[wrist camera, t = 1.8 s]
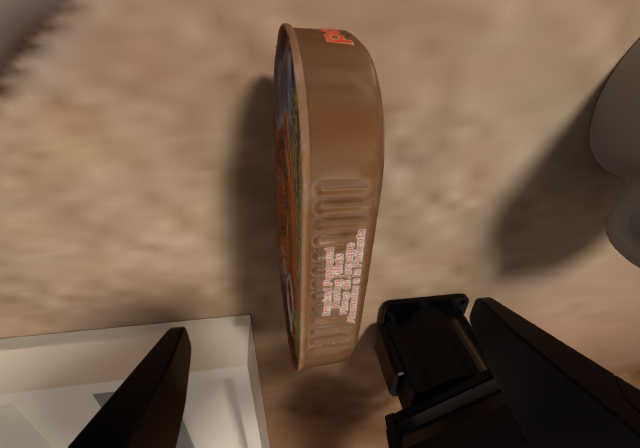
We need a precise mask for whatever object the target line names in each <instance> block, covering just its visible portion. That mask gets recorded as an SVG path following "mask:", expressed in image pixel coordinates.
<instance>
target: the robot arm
mask: <svg viewBox="0 0 640 448" xmlns="http://www.w3.org/2000/svg"><path fill="white" fill-rule="evenodd" d="M468 303H469V299H468V298H467V296H466V295H465V294H454V295H443V296H433V297H423V298H412V299H402V300H392V301H388V302H386V303H385V305H384V309H383V315H382V321H381V325H379V327H378V330H377V336H376V342H375V350H376V355H377V358H378V360H379V363H380V366H381V369H382V372H383V375H384V378H385V381H386V384H387V387H388V390H389V393H390V394H391V395H392V396H393V397H396V396H398V397H399V400H400V403H401V406H402V409H403V410H401V411H398V412H396V413H391V414H388V415H386V416H385V420H386V426H387V430H386V433H387V439H388V446H389V448H640V390H639V389H637V388H636V387H634V386H632V385H631V384H629V383H627V382H626V381H624V380H623V379H621V378H619V377H618V376H614V374H613V373H611V372H610V371H608V370H606V369H605V368H603V367H602V366H600V365H598V364H597V363H595V362H594V361H592V360H590V359H589V358H587V357H585V356H584V355H582V354H581V353H579V352H577V351H576V350H574V349H573V348H571V347H569V346H568V345H566V344H565V343H563V342H561V341H560V340H558V339H557V338H555V337H553V336H552V335H550V334H549V333H547V332H545V331H544V330H542V329H540V328H539V327H537V326H536V325H534V324H532V323H531V322H529V321H528V320H526V319H524V318H523V317H521V316H520V315H518V314H516V313H515V312H513V311H512V310H510V309H508V308H507V307H505V306H504V305H502V304H500V303H499V302H497V301H495V300H494V299H492V298H490V297H484V298H477V299H476V300H475V303H474V305H473V308H472V311H471V313H470V323H471V325H470V323H469V322H468V320H467V319H466V317H465V316H464V313H465V311H466V308H467V305H468ZM191 350H192V349H191V342H190V339H189V336H188V333H187V330H186V328H185V327H183V326H182V327H172V328H170V329H168V330H167V332H166V333H165V334H164V335H163V336H162V337H161V339H160V340H159V341H158V342H157V343H156V344H155V346H154V347H153V348H152V349H151V350H150V351H149V353H148V354H147V355H146V356H145V357H144V358H143V360H142V361H141V362H140V363H139V364H138V365H137V367H136V368H135V369H134V370H133V371H132V372H131V374H130V375H129V376H128V377H127V378H126V379H125V381H124V382H123V383H122V384H121V385H120V386H119V388H118V389H117V390H116V391H115V392H114V393H113V395H112V396H111V397H110V398H109V399H108V400H107V402H106V403H105V404H104V405H103V406H102V407H101V409H100V410H99V411H98V412H97V413H96V414H95V416H94V417H93V418H92V419H91V420H90V421H89V423H88V424H87V425H86V426H85V427H84V428H83V430H82V431H81V432H80V433H79V434H78V435H77V437H76V438H75V439H74V440H73V441H72V442H71V444H70V445H69V446H68V448H176V445H177V440H178V436H179V432H180V427H181V423H182V418H183V414H184V409H185V403H186V396H187V387H188V378H189V369H190V361H191Z"/></svg>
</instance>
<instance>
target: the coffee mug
mask: <svg viewBox="0 0 640 448" xmlns="http://www.w3.org/2000/svg"><path fill="white" fill-rule="evenodd" d="M590 148H591V150H592V153H593V156H594V158H595V159H596V161H597V162H598V163H599V165H600V166H601V167H602V168H604V169H605V170H607V171H608V172H610V173H612V174H614V175H616V176H618V177H619V178H620V180H621V182H622V185H621V190H620V192H619V194H618V196H617V197H616V199H615V201H614V203H613V205H612V207H611V209H610V211H609V214H608V217H607V222H606V234H607V236H608V238H609V241H610V242H611V244H612V245H613V246H614V248H615V249H616V250H617V251H618V252H619V253H620V254H621V255H623V256H624V257H625V258H626V259H627V260H628V261H630V262H631V263H633V264H634V265H636V266H637V267H639V268H640V39H639V40H638V41H637V42H636V43H635V44H634V45H633V46H632V48H631V49H630V50H629V51H628V52H627V54H626V55H625V56H624V57H623V58H622V60H621V61H620V62H619V64H618V65H617V67H616V68H615V70H614V71H613V73H612V74H611V76H610V77H609V79H608V81H607V83H606V85H605V86H604V88H603V90H602V92H601V94H600V96H599V98H598V101H597V104H596V106H595V109H594V112H593V116H592V120H591V126H590Z"/></svg>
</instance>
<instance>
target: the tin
mask: <svg viewBox="0 0 640 448" xmlns="http://www.w3.org/2000/svg"><path fill="white" fill-rule="evenodd" d="M274 126H275V159H276V195H277V228H278V250H279V266H280V277H281V288H282V296H283V305H284V312H285V321H286V329H287V335H288V343H289V348H290V354H291V359H292V363H293V367H294V369H295V370H296V372H299V371H301V370H302V369H304V368H309V367H316V366H322V365H328V364H334V363H339V362H342V361H345V360H347V359H348V358H350V356H351V355H352V354H353V352H354V350H355V347H356V344H357V341H358V335H359V330H360V323H361V318H362V312H363V306H364V299H365V293H366V287H367V282H368V274H369V268H370V262H371V255H372V248H373V242H374V235H375V228H376V222H377V215H378V209H379V202H380V195H381V188H382V180H383V168H384V116H383V107H382V99H381V91H380V87H379V82H378V78H377V73H376V70H375V67H374V64H373V61H372V58H371V56H370V53H369V52H368V50H367V49H366V47H365V46H364V45H363V44H362V43H361V42H360V41H359V40H358V39H357V38H356V37H354V36H353V35H352V34H351V33H349V32H347V31H343V30H335V29H306V28H293V27H292V26H291V25H290V24H287V23H284V24H282V25H281V26H280V29H279V33H278V40H277V46H276V55H275V65H274Z"/></svg>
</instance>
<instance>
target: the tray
mask: <svg viewBox="0 0 640 448" xmlns="http://www.w3.org/2000/svg"><path fill="white" fill-rule="evenodd" d="M182 326H183V327H185V328H186V330H187V333H188V336H189V339H190V342H191V349H192V350H191V361H190V369H189V378H188V387H187V396H186V403H185V409H184V414H183V418H182V423H181V427H180V432H179V436H178V440H177V445H176V448H270V446H269V439H268V433H267V426H266V419H265V413H264V406H263V399H262V393H261V386H260V379H259V372H258V366H257V359H256V352H255V346H254V339H253V332H252V326H251V319H250V315H240V316H230V317H219V318H209V319H199V320H188V321H178V322H168V323H157V324H147V325H137V326H126V327H116V328H106V329H95V330H85V331H75V332H64V333H54V334H44V335H33V336H23V337H13V338H2V339H0V448H68V446H69V445H70V444H71V442H72V441H73V440H74V439H75V438H76V437H77V435H78V434H79V433H80V432H81V431H82V430H83V428H84V427H85V426H86V425H87V424H88V423H89V421H90V420H91V419H92V418H93V417H94V416H95V414H96V413H97V412H98V411H99V410H100V409H101V407H102V406H103V405H104V404H105V403H106V402H107V400H108V399H109V398H110V397H111V396H112V395H113V393H114V392H115V391H116V390H117V389H118V388H119V386H120V385H121V384H122V383H123V382H124V381H125V379H126V378H127V377H128V376H129V375H130V374H131V372H132V371H133V370H134V369H135V368H136V367H137V365H138V364H139V363H140V362H141V361H142V360H143V358H144V357H145V356H146V355H147V354H148V353H149V351H150V350H151V349H152V348H153V347H154V346H155V344H156V343H157V342H158V341H159V340H160V339H161V337H162V336H163V335H164V334H165V333H166V332H167V330H168V329H170V328H172V327H182Z"/></svg>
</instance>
